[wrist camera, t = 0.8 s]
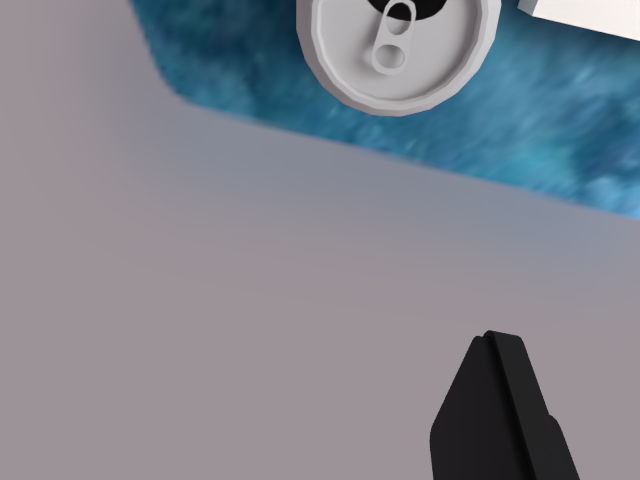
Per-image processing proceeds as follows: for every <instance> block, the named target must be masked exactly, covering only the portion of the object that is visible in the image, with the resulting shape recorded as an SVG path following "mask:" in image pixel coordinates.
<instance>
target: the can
mask: <svg viewBox="0 0 640 480" xmlns="http://www.w3.org/2000/svg"><path fill="white" fill-rule="evenodd" d="M500 9H501V0H296V30H297V34H298V37H299V41H300V44H301V48H302V51H303V55H304V58H305V61H306V62H307V64H308V65H309V67H310V69H311V70H312V72H313V73H314V75H315V76H316V78H317V79H318V81H319V82H320V84H321V85H322V86H323V87H324V88H325V89H326V90H328V91H329V92H330V93H331V94H332V95H334V96H335V97H336V98H337V99H339V100H340V101H341V102H342V103H344V104H345V105H347V106H350V107H353V108H355V109H358V110H360V111H363V112H366V113H368V114H371V115H383V116H404V115H408V114H412V113H416V112H420V111H424V110H428V109H431V108H432V107H434V106H436V105H438V104H439V103H441V102H443V101H444V100H446V99H448V98H449V97H451V96H453V95H454V94H456V93H457V92H458V91H459V90H460V89H461V88H462V87H463V86H464V85H465V84H466V83H467V81H468V80H469V79H470V78H471V77H472V76H473V75H474V74H475V73H476V72H477V71H478V70H479V68H480V66H481V64H482V62H483V60H484V58H485V56H486V55H487V53H488V51H489V49H490V47H491V45H492V43H493V41H494V39H495V34H496V29H497V24H498V19H499V14H500Z"/></svg>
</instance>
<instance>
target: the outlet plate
mask: <svg viewBox="0 0 640 480" xmlns="http://www.w3.org/2000/svg"><path fill="white" fill-rule="evenodd" d="M517 8H518V9H520V10H522V11H524V12H526V13H528V14H530V15H531V16H535V17H539V18H543V19H548V20H552V21H556V22H561V23H565V24H569V25H574V26H578V27H582V28H587V29H591V30H595V31H600V32H604V33H608V34H613V35H617V36H621V37H626V38H630V39H634V40H639V41H640V0H520V1H519V4H518V6H517Z"/></svg>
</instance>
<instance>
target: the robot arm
mask: <svg viewBox="0 0 640 480" xmlns="http://www.w3.org/2000/svg"><path fill="white" fill-rule="evenodd" d="M430 451H431V461H432V470H433V479H434V480H580V479H579V476H578V473H577V470H576V468H575V465H574V462H573V460H572V457H571V454H570V452H569V449H568V446H567V443H566V441H565V438H564V435H563V433H562V430H561V428H560V426H559V424H558V422H557V420H556V419H555V418H553V416H551V415H549V413H548V410H547V407H546V405H545V401H544V399H543V396H542V394H541V390H540V388H539V385H538V382H537V379H536V376H535V373H534V371H533V368H532V365H531V362H530V360H529V357H528V354H527V351H526V348H525V345H524V343H523V341H522V339H521V338H520V337H519V336H516V335H511V334H505V333H500V332H496V331H491V330H489V331H487V332H486V333H485V334H484V336H483V337H481V336H476V337H475V338H474V339H473V340H472V342H471V345H470V347H469V349H468V351H467V353H466V355H465V357H464V359H463V362H462V364H461V366H460V368H459V370H458V372H457V374H456V376H455V378H454V380H453V383H452V385H451V387H450V389H449V391H448V393H447V395H446V397H445V400H444V402H443V404H442V406H441V408H440V410H439V412H438V414H437V417H436V419H435V421H434V423H433V425H432V428H431V432H430Z"/></svg>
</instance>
